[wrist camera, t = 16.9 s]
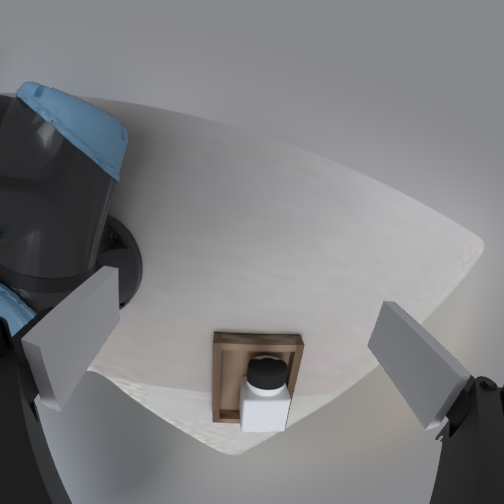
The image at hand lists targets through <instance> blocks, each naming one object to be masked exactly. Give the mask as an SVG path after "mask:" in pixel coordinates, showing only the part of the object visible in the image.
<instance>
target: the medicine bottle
mask: <svg viewBox="0 0 504 504" xmlns="http://www.w3.org/2000/svg"><path fill="white" fill-rule="evenodd" d="M287 370H288V366H287V364H286V363H285V362H284V361H283V360H282V359H280V358H278V357H274V356H268V355H263V356H257V357H254V358H253V359H251V360H250V361H249V362H248V369H247V376H242V378H241V389H240V403H239V410H240V424H241V431H242V432H271V431H284V430H285V428H286V423H287V418H288V413H289V409H290V403H291V398H290V395H289V392H288V389H287V386H286V377H287Z"/></svg>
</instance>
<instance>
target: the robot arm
mask: <svg viewBox="0 0 504 504" xmlns="http://www.w3.org/2000/svg"><path fill="white" fill-rule="evenodd" d="M16 96H17V98H13V97H8V96H3V95H0V504H72V503H71V501H70V499H69V496H68V494H67V492H66V490H65V488H64V486H63V483H62V481H61V479H60V477H59V474H58V472H57V469H56V467H55V464H54V461H53V459H52V456H51V453H50V450H49V448H48V444H47V441H46V438H45V435H44V432H43V429H42V425H41V422H40V418H39V414H38V411H37V407H36V404H35V402H34V399H35V397H36V396H37V395H38V393H39V395H40V398H41V400H42V402H43V405H45V406H47V407H50V408H52V409H54V410H57V411H59V412H62V410H63V408H64V406H65V405H66V403H67V401H68V399H69V398H70V396H71V395H72V393H73V391H74V390H75V388H76V386H77V385H78V383H79V381H80V380H81V378H82V377H83V375H84V373H85V372H86V370H87V369H88V367H89V365H90V364H91V362H92V361H93V359H94V358H95V356H96V354H97V353H98V351H99V350H100V348H101V347H102V345H103V344H104V342H105V341H106V339H107V338H108V336H109V335H110V333H111V332H112V330H113V329H114V327H115V326H116V325H117V323H118V322H119V320H120V316H119V310H121V309H122V308H123V307H125V306H126V305H127V304H128V303H129V302H130V300H131V299H132V298H133V296H134V295H135V293H136V292H137V290H138V288H139V285H140V282H141V278H142V260H141V255H140V252H139V249H138V246H137V244H136V242H135V240H134V238H133V237H132V235H131V234H130V232H129V231H128V230H127V229H126V228H125V227H124V226H123V225H122V224H121V223H120V222H118V221H117V220H115V219H114V218H112V217H110V216H108V215H107V213H108V210H109V206H110V203H111V200H112V196H113V193H114V190H115V187H116V184H117V182H119V180H120V175H119V173H120V169H121V165H122V162H123V158H124V155H125V152H126V149H127V145H128V133H127V130H126V128H125V127H124V125H123V124H122V123H121V122H120V121H118V120H117V119H116V118H114V117H113V116H111V115H110V114H108V113H106V112H104V111H103V110H101V109H99V108H97V107H95V106H93V105H91V104H89V103H87V102H85V101H83V100H81V99H79V98H77V97H74V96H72V95H70V94H67V93H65V92H62V91H60V90H57V89H54V88H49V87H47V86H43V85H41V84H39V83H35V82H25V83H24V84H22V86H21V87H20V88H19V89H18V90H17V92H16ZM367 346H368V347H369V349H370V350H371V351H372V353H373V354H374V356H375V357H376V358H377V360H378V361H379V363H380V364H381V366H382V367H383V368H384V370H385V371H386V373H387V374H388V376H389V377H390V378H391V380H392V381H393V383H394V384H395V386H396V387H397V389H398V390H399V391H400V393H401V394H402V396H403V397H404V399H405V400H406V402H407V403H408V405H409V406H410V407H411V409H412V411H413V412H414V414H415V415H416V417H417V418H418V420H419V421H420V423H421V424H422V425H423V427H424V429H425V430H427V429H431V428H434V427H437V426H438V425H439V424H440V423H441V421H442V420H443V419H444V417H445V416H446V417H447V418H448V419H449V421H448V422H447V423H446V425H445V426H444V427H443V429H442V430H441V431H440V433H439V434H438V435H437V437H436V440H438V439H439V437H440V436H443V438H442V439H441V440H440V441H441V442H442V449H441V455H440V460H439V466H438V471H437V475H436V480H435V484H434V488H433V492H432V496H431V500H430V504H504V385H503V387H502V388H498V387H497V385H496V383H494V382H493V381H492V380H491V379H489V378H486V377H482V376H480V377H477V378H476V379H475V378H474V377H473V376H472V375H471V373H470V372H469V371H468V370H467V369H466V368H465V367H464V366H463V365H462V364H461V363H460V362H459V361H457V359H456V358H455V357H454V356H452V354H451V353H450V352H449V351H448V350H446V349H445V348H444V347H443V346H442V345H441V344H440V343H439V342H438V341H437V340H436V339H435V338H434V337H433V336H432V335H431V334H430V333H428V332H427V331H426V330H425V329H424V328H423V327H422V326H421V325H420V324H419V323H418V322H417V321H416V320H414V319H413V318H412V317H411V316H410V315H409V314H408V313H407V312H406V311H405V310H403V309H402V308H401V307H400V306H399V305H398V304H397V303H396V302H389V301H383V304H382V307H381V310H380V313H379V316H378V319H377V322H376V324H375V327H374V330H373V333H372V335H371V338H370V340H369V343H368V345H367Z"/></svg>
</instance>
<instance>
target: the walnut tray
mask: <svg viewBox="0 0 504 504" xmlns="http://www.w3.org/2000/svg"><path fill="white" fill-rule="evenodd" d="M303 349H304V343H303V341H302V338H301V336H300V335H280V334H244V333H224V332H214V341H213V422H219V423H240V410H239V403H240V389H241V378H242V376H247V369H248V362H249V361H250V360H251V359H253V358H254V357H257V356H263V355H268V356H274V357H278V358H280V359H282V360H283V361H284V362H285V363H286V364H287V366H288V370H287V377H286V386H287V389H288V392H289V395H290V398H291V400H292V396H293V392H294V388H295V384H296V380H297V376H298V371H299V367H300V363H301V358H302V354H303ZM290 404H291V403H290Z"/></svg>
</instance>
